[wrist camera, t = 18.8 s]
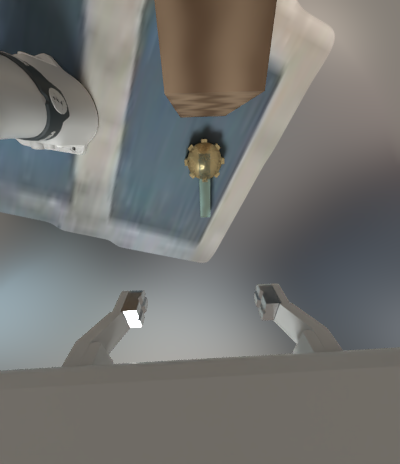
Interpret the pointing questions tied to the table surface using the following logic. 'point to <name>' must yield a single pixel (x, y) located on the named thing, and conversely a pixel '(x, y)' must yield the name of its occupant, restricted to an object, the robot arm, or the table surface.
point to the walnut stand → (214, 53)
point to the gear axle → (204, 169)
